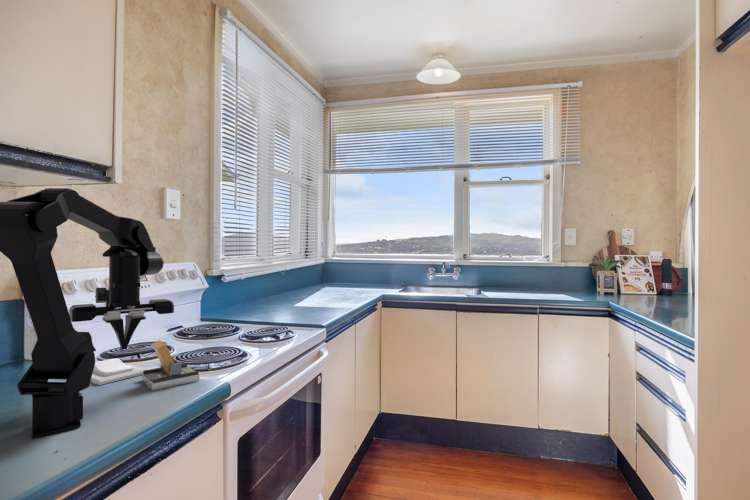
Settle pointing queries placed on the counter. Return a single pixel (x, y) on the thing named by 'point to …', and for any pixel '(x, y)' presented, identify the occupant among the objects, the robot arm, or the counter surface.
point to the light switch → (113, 371)
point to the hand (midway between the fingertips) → (123, 348)
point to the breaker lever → (163, 354)
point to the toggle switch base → (169, 376)
